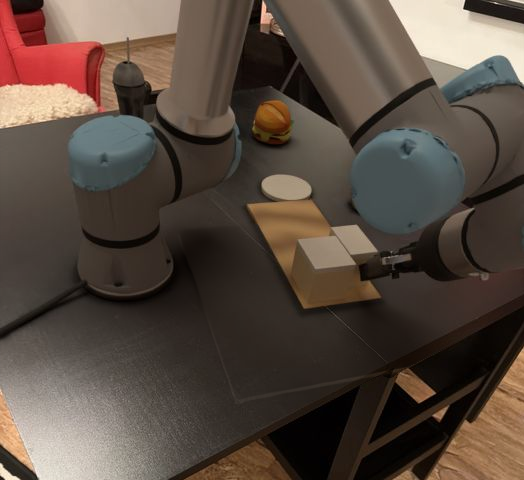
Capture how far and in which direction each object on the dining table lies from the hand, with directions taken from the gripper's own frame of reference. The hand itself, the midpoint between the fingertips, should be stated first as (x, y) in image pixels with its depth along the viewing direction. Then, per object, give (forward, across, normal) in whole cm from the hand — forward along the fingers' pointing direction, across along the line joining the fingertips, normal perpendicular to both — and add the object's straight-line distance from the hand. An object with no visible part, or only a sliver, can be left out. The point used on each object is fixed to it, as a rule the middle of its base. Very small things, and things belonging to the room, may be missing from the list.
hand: (363, 272), depth 79 cm
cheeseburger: (+47, +5, +40) cm, 62 cm away
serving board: (+13, -4, +6) cm, 15 cm away
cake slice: (+7, 0, +1) cm, 7 cm away
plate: (+29, 0, +22) cm, 36 cm away
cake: (+5, -6, -1) cm, 8 cm away
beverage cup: (+51, -29, +44) cm, 73 cm away
